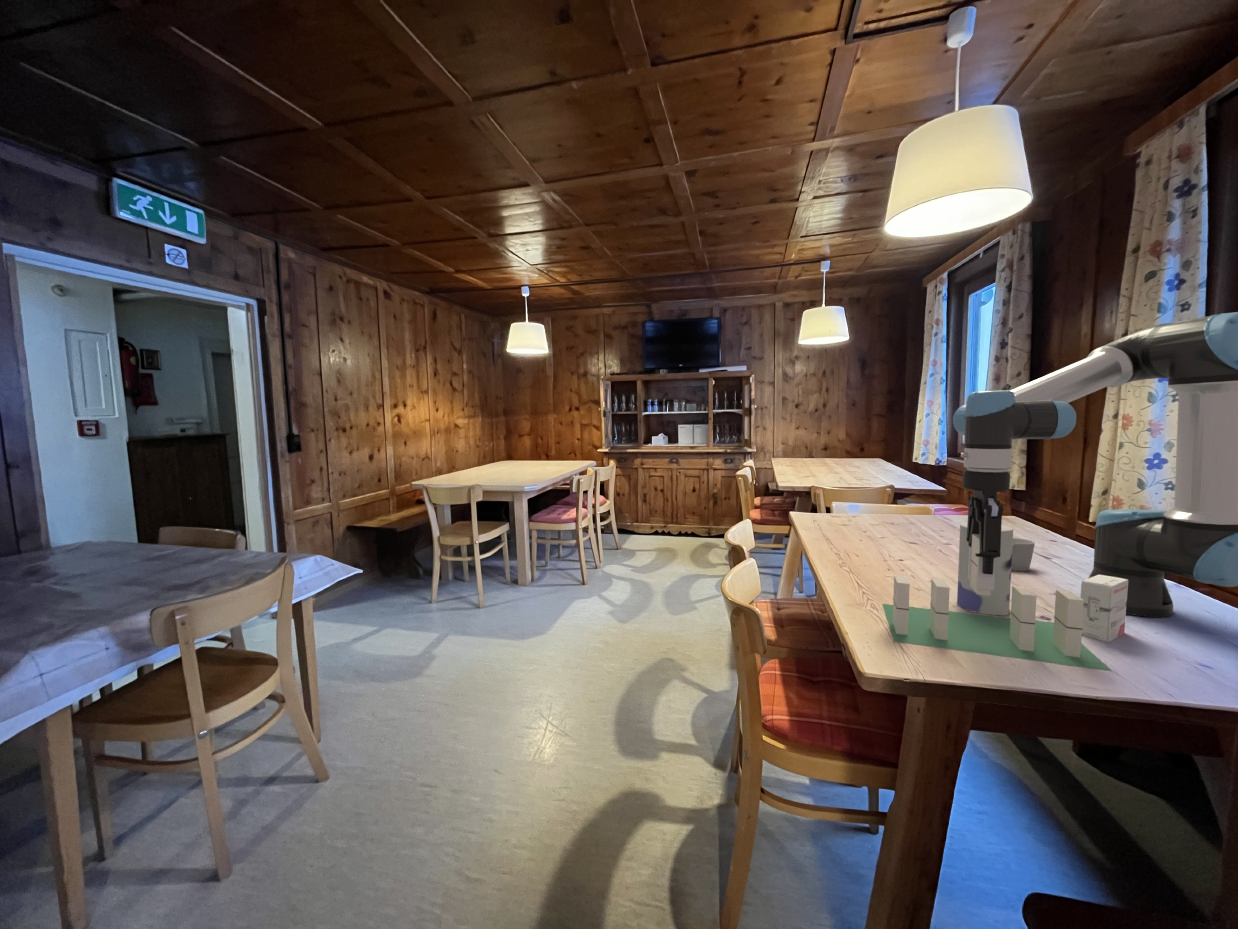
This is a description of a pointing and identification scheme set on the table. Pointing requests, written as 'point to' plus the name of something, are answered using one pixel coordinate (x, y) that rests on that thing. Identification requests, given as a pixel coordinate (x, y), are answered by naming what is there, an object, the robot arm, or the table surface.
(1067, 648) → the domino
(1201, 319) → the robot arm
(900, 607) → the domino
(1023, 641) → the domino
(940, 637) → the domino
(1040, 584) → the table surface
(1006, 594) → the container
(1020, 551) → the cup
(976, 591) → the domino
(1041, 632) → the felt mat
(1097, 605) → the ink box
